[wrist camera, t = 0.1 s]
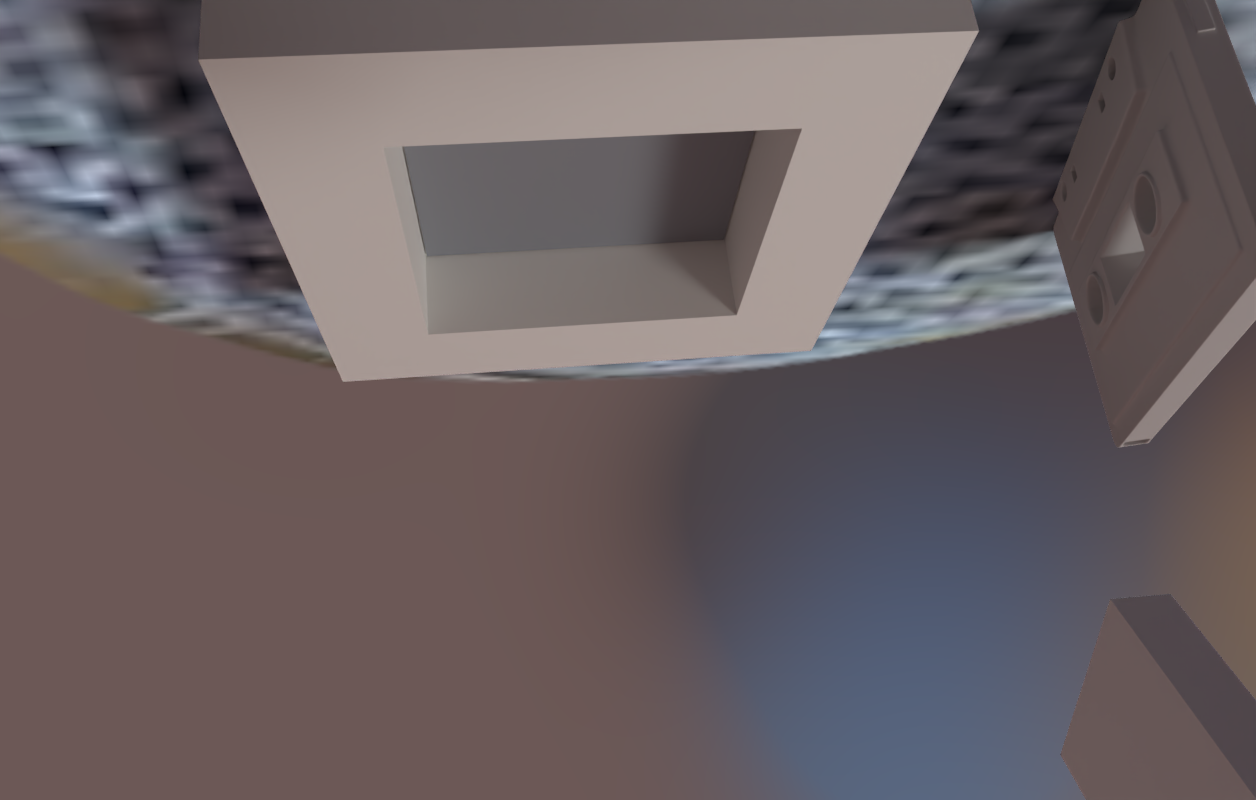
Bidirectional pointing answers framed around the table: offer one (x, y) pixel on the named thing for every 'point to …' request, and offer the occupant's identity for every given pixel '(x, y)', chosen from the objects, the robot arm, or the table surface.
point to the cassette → (1161, 213)
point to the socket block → (575, 167)
